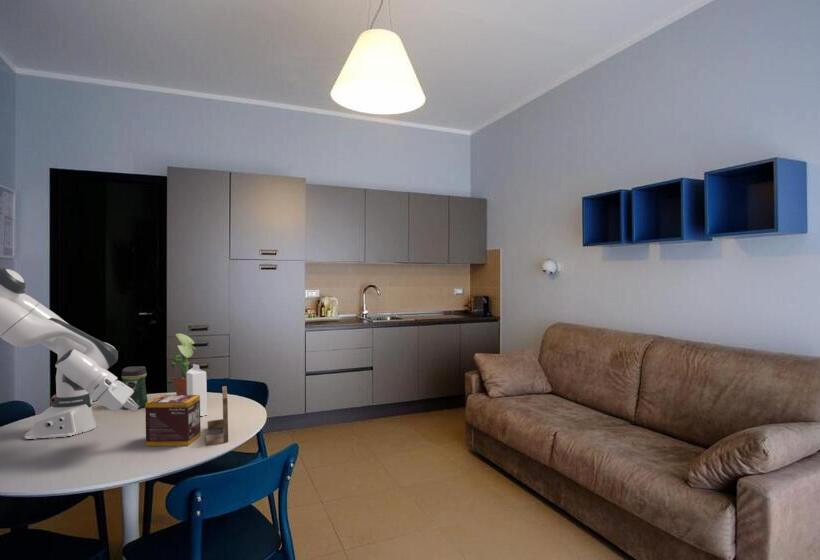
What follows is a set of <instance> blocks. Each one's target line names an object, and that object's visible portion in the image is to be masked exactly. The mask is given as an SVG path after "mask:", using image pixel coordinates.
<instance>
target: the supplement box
mask: <svg viewBox="0 0 820 560" xmlns="http://www.w3.org/2000/svg"><path fill="white" fill-rule="evenodd" d="M144 410H145V446H147V447H154V446H155V447H168V446H169V447H179V446H180V447H181V446H182V447H184V446H185V447H187V446H190V445H191V444H192V443H193V442H195V441H196V440H197V439H198V438H200V437H201V435H202V434H201V433H202V432H201V417H200V395H177V394H173V395H172V394H171V395H170V394H169V395H168V394H166V395H162V394H161V395H158V396H156V397H155V398H153V399H150V400H148V402H147V403H145V409H144Z"/></svg>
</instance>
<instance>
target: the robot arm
mask: <svg viewBox="0 0 820 560" xmlns="http://www.w3.org/2000/svg"><path fill="white" fill-rule="evenodd" d="M26 285H27V284H26V281H25V279H24V278H23V276H21V274H20V273H18V272H17V271H15V270H12V269H9V268H7V267H0V339H2V340H3V341H4V342H7V343H8V344H10V345H12V346H14V347H16V348H17V347H19V348H27V347H32V346H35V345H38V344H42V346H45V347H46V348H47V349H49V350H50V351H52V352H53V353H55V354H57V361H56V362H55V365H54V366H55V368H56V374H55V389H56V390H55V392H56V394H54V395H53V396H52V397H51V398H50V400H49V404H50V406H49V407H47V409H46V410H44V411H43V412H41V413H40V414H39V415H38V416H37V417H35V418H34V421H33V423H32V426H31V429H30V430H29V431H27V432H26V433H25V434H24V438H42V437H64V436H71V437H73V436H72V435H74V436H76V435H79V434H82V432H83V433H87V432H89V431H91V430H93V429H94V430H95V428H96V427H97V423H96V420H95V417H94V411H93V405H94V403H93V402H96V401H97V403H98V404H100V405H102V406H104V407H105V408H107V409H108V410H110V411H112V412H116V413H117V412H119V411H120V410H121V409H122V408H123V407H125V408H127V409H128V410H130V411H131V412H133V413H135V412H137V410H139V409H140V408H139V405H137V404H136V403H135V402H134V401H133V399H131V398H130V396H131V395H132V394H133V393H134V391H133V389H131V388H130V387H128V386H127V385H125V384H124V383H123V381H121V380H118V376H116V375H115V374H113V373H112V372H110V371H109V370H108V369H110V368H111V367H112V366H113V365H115V364H116V363H117V362H118V359H119V351H118V350H117V349H116V348H115V347H114V346H113V345H111V344H110V343H108V342H105V341H102V340H101V339H98V338H96V337H94V336H91V335H90V334H88V333H86V332H84V331H82V330H81V329H79V328H77V327H75V326H73V325H71V324H70V323H68V322H67V321H65V320H64V319H63V318H61V316H59V315H58V314H56V313H55V312H54V311H52V310H51V309H49V308H48V307H46V305H43V304H42V303H41V302H39V301H38V300H36V298H33V297H32V296H31V295H28V294H27V293H26V290H25V289H26V287H27V286H26ZM127 409H126V410H127ZM78 433H79V434H78ZM75 434H76V435H75ZM64 438H65V437H64Z"/></svg>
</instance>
